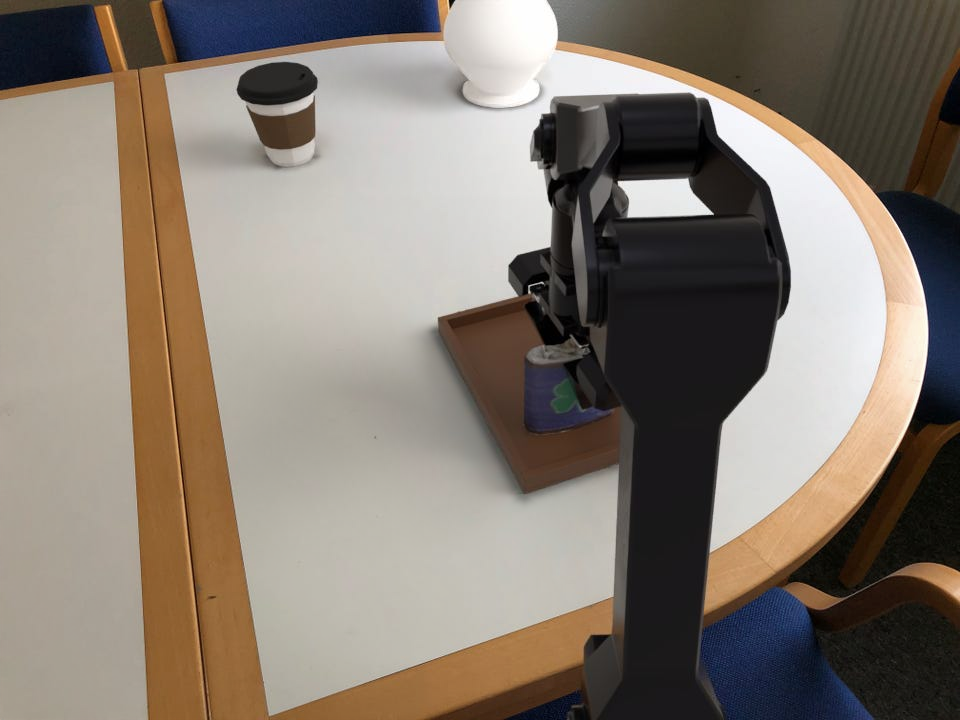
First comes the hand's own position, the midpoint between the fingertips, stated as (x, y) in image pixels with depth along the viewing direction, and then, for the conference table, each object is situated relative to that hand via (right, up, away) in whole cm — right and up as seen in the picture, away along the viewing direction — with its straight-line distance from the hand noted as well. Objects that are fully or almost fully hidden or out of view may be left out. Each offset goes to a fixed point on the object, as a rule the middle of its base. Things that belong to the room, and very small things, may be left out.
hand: (575, 390), depth 73 cm
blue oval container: (0, -3, +2) cm, 4 cm away
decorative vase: (-5, +47, +57) cm, 74 cm away
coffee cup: (-36, +32, +42) cm, 64 cm away
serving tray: (-1, +1, +7) cm, 7 cm away
